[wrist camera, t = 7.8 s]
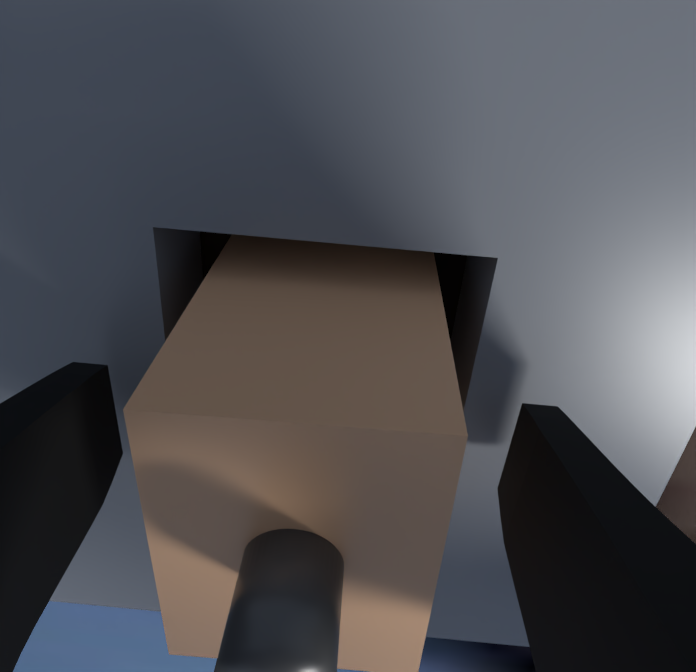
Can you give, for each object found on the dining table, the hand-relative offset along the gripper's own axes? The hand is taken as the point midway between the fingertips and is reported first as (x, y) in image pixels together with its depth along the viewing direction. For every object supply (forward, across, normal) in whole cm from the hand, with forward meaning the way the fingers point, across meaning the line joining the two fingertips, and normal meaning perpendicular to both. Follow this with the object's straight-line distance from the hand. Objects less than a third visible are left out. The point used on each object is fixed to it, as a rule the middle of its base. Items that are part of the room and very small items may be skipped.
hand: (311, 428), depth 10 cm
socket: (+3, 0, 0) cm, 3 cm away
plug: (+3, 0, 0) cm, 3 cm away
